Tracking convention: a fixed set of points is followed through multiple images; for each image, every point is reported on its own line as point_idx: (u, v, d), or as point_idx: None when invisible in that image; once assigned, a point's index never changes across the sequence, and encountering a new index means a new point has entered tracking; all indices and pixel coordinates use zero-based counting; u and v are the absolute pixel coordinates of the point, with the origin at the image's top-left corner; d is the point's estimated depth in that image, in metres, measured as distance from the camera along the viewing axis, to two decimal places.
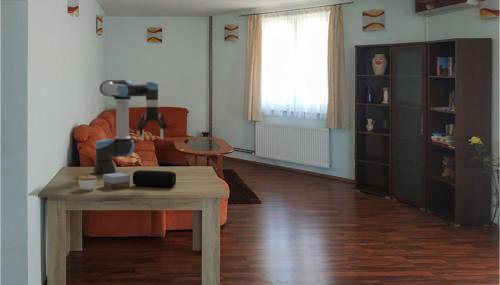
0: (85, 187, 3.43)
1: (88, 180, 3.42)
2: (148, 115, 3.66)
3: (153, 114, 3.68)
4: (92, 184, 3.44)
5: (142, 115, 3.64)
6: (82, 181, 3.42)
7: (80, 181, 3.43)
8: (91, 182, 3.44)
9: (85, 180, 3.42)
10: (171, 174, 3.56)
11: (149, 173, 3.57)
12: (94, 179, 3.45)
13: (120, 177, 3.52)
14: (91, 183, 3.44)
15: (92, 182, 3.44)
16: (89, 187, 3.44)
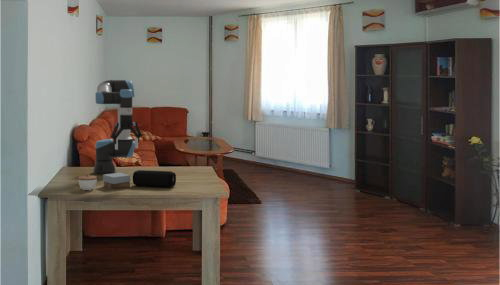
0: (85, 187, 3.43)
1: (88, 180, 3.42)
2: (122, 123, 3.55)
3: (127, 122, 3.57)
4: (92, 184, 3.44)
5: (116, 123, 3.54)
6: (82, 181, 3.42)
7: (80, 181, 3.43)
8: (91, 182, 3.44)
9: (85, 180, 3.42)
10: (171, 174, 3.56)
11: (149, 173, 3.57)
12: (94, 179, 3.45)
13: (120, 177, 3.52)
14: (91, 183, 3.44)
15: (92, 182, 3.44)
16: (89, 187, 3.44)
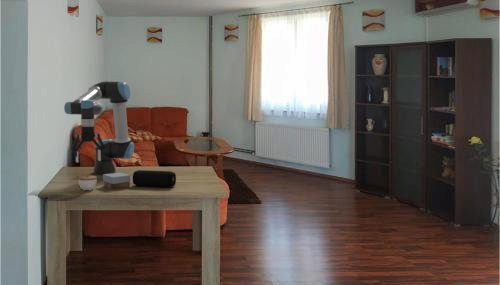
0: (85, 187, 3.43)
1: (88, 180, 3.42)
2: (83, 135, 3.42)
3: (89, 134, 3.44)
4: (92, 184, 3.44)
5: (76, 135, 3.40)
6: (82, 181, 3.42)
7: (80, 181, 3.43)
8: (91, 182, 3.44)
9: (85, 180, 3.42)
10: (171, 174, 3.56)
11: (149, 173, 3.57)
12: (94, 179, 3.45)
13: (120, 177, 3.52)
14: (91, 183, 3.44)
15: (92, 182, 3.44)
16: (89, 187, 3.44)
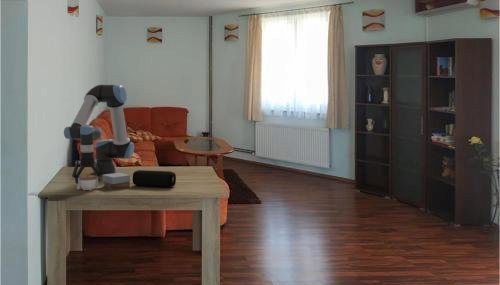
0: (85, 187, 3.43)
1: (88, 180, 3.42)
2: (82, 161, 3.43)
3: (88, 160, 3.45)
4: (92, 184, 3.44)
5: (76, 162, 3.42)
6: (82, 181, 3.42)
7: (80, 181, 3.43)
8: (91, 182, 3.44)
9: (85, 180, 3.42)
10: (171, 174, 3.56)
11: (149, 173, 3.57)
12: (94, 179, 3.45)
13: (120, 177, 3.52)
14: (91, 183, 3.44)
15: (92, 182, 3.44)
16: (89, 187, 3.44)
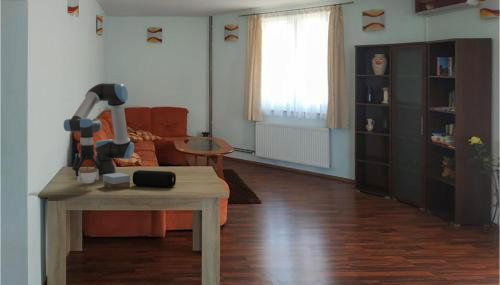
0: (85, 180, 3.43)
1: (88, 173, 3.42)
2: (82, 154, 3.43)
3: (88, 152, 3.45)
4: (92, 177, 3.44)
5: (76, 155, 3.42)
6: (82, 174, 3.42)
7: (80, 174, 3.43)
8: (91, 175, 3.44)
9: (85, 173, 3.42)
10: (171, 174, 3.56)
11: (149, 173, 3.57)
12: (94, 172, 3.45)
13: (120, 177, 3.52)
14: (91, 176, 3.44)
15: (92, 175, 3.44)
16: (89, 180, 3.44)
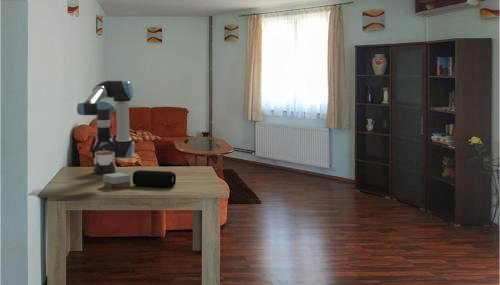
0: (102, 162, 3.47)
1: (105, 155, 3.46)
2: (99, 136, 3.47)
3: (105, 135, 3.49)
4: (108, 159, 3.48)
5: (93, 137, 3.46)
6: (99, 156, 3.46)
7: (97, 156, 3.47)
8: (108, 157, 3.47)
9: (102, 155, 3.46)
10: (171, 174, 3.56)
11: (149, 173, 3.57)
12: (110, 154, 3.49)
13: (120, 177, 3.52)
14: (108, 158, 3.48)
15: (108, 157, 3.48)
16: (106, 162, 3.48)
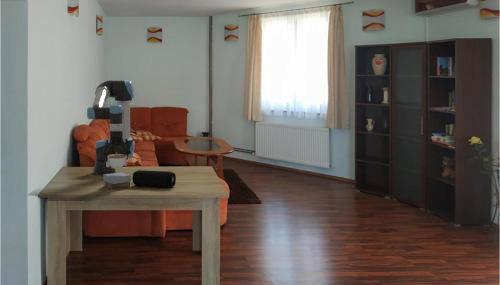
0: (114, 165, 3.51)
1: (117, 158, 3.50)
2: (112, 140, 3.51)
3: (117, 138, 3.53)
4: (121, 162, 3.52)
5: (105, 141, 3.50)
6: (111, 159, 3.51)
7: (109, 159, 3.51)
8: (120, 160, 3.52)
9: (114, 158, 3.50)
10: (170, 174, 3.56)
11: (149, 173, 3.57)
12: (123, 157, 3.53)
13: (121, 177, 3.52)
14: (120, 161, 3.52)
15: (121, 160, 3.52)
16: (118, 165, 3.52)
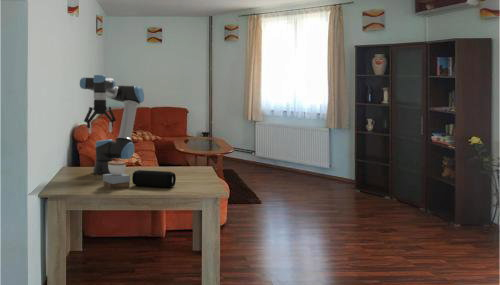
0: (115, 172, 3.52)
1: (118, 165, 3.52)
2: (96, 108, 3.65)
3: (101, 107, 3.67)
4: (121, 169, 3.54)
5: (89, 108, 3.64)
6: (112, 166, 3.52)
7: (110, 166, 3.52)
8: (121, 167, 3.53)
9: (115, 165, 3.51)
10: (170, 174, 3.55)
11: (148, 173, 3.57)
12: (123, 164, 3.54)
13: (120, 177, 3.52)
14: (120, 168, 3.53)
15: (121, 167, 3.53)
16: (118, 172, 3.53)
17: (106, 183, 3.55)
